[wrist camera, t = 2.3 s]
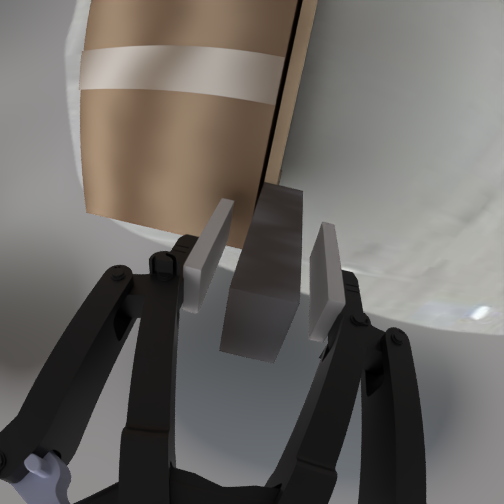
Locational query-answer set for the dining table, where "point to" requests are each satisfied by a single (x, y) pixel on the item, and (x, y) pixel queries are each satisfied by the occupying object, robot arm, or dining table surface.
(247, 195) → the carton
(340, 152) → the dining table surface
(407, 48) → the dining table surface
